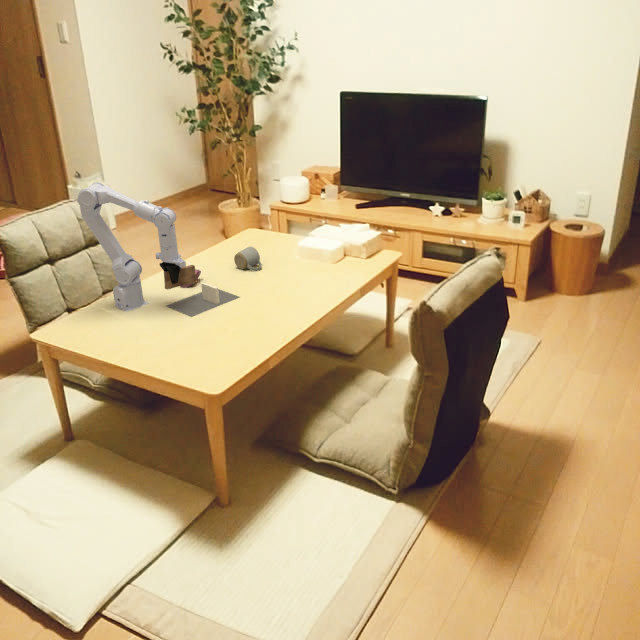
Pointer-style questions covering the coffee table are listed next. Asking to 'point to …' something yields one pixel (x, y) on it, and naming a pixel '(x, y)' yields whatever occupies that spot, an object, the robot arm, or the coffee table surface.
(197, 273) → the pink irregular lump
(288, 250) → the coffee table surface
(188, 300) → the mat
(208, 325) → the coffee table surface
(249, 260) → the ceramic mug
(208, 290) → the tile
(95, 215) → the robot arm
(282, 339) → the coffee table surface
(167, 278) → the brown wooden block
